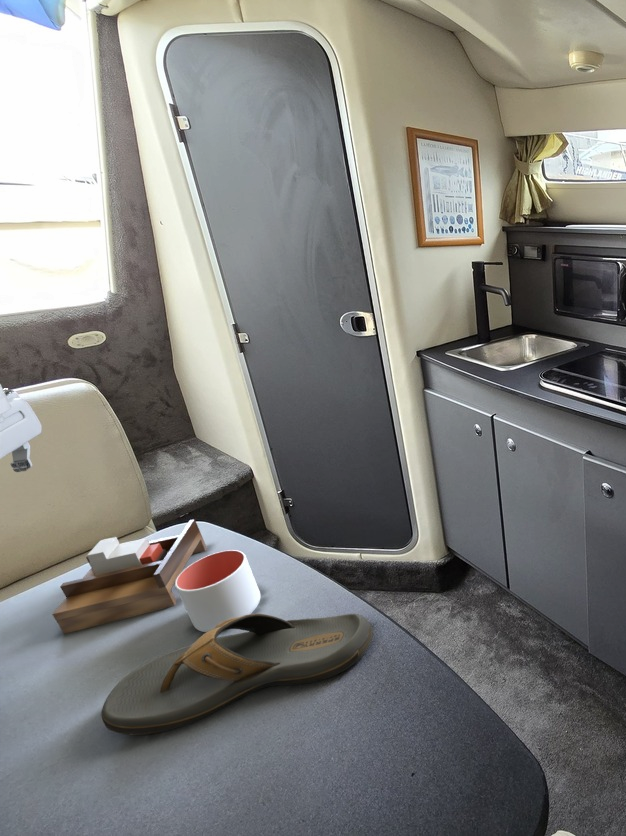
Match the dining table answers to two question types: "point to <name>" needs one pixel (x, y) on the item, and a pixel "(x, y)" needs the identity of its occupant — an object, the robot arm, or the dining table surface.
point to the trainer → (123, 555)
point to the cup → (218, 589)
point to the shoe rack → (128, 586)
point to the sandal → (233, 669)
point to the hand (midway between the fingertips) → (4, 483)
